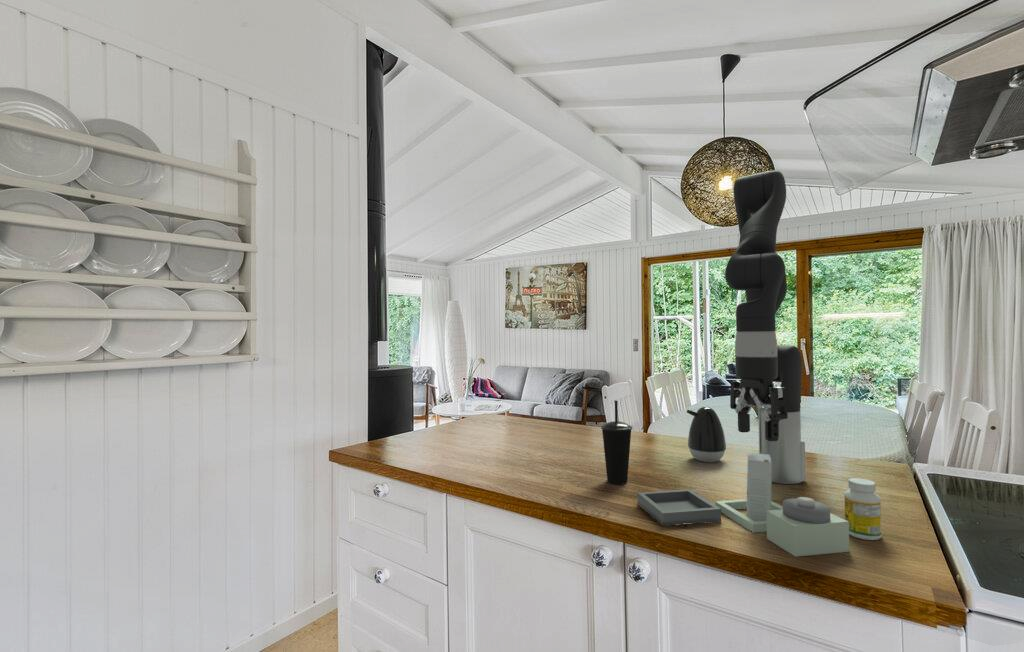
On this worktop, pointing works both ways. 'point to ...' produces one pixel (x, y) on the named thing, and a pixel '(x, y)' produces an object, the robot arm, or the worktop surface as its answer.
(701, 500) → the tray
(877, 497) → the supplement bottle
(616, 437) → the drinking cup
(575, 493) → the worktop surface
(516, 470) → the worktop surface
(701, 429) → the pump dispenser
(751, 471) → the skincare box
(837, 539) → the soap dish box
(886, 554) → the worktop surface
